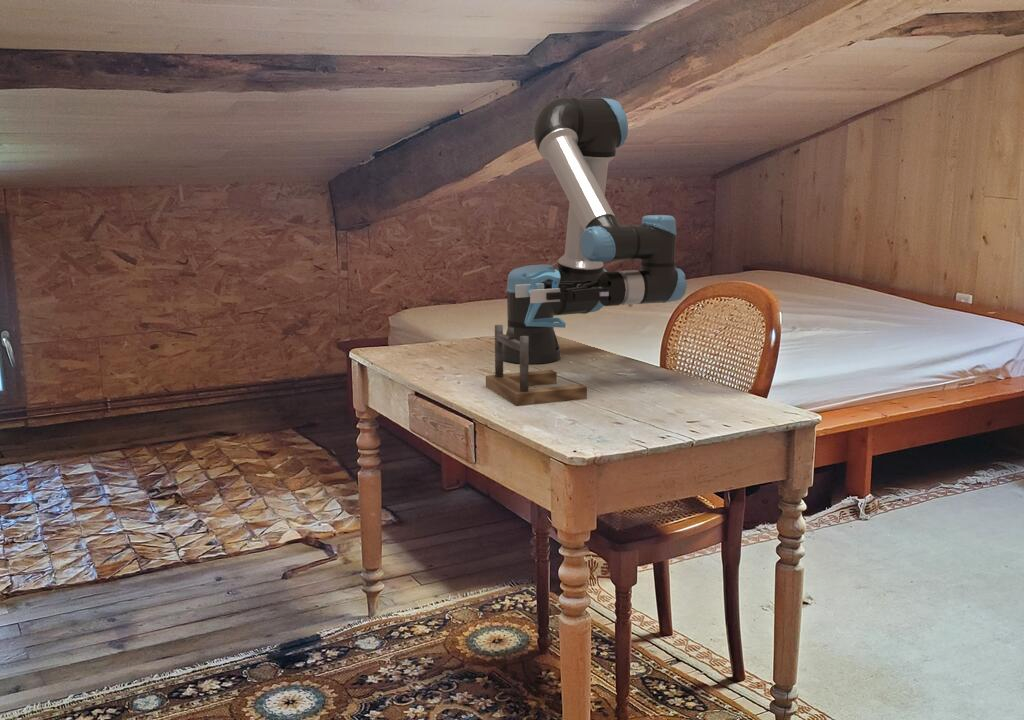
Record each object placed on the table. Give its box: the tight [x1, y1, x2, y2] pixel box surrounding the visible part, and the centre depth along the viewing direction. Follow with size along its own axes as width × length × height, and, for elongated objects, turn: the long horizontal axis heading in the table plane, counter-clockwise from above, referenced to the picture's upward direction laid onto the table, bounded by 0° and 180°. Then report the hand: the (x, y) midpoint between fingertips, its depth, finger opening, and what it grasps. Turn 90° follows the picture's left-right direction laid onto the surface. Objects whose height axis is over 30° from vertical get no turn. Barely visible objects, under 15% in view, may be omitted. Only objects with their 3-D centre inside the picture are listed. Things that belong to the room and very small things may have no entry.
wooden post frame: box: [485, 324, 588, 407], centre depth 215 cm, size 16×19×15 cm
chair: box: [524, 268, 567, 329], centre depth 212 cm, size 8×8×12 cm
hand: (523, 293), depth 211 cm, fingers closed on chair, 8 cm apart
